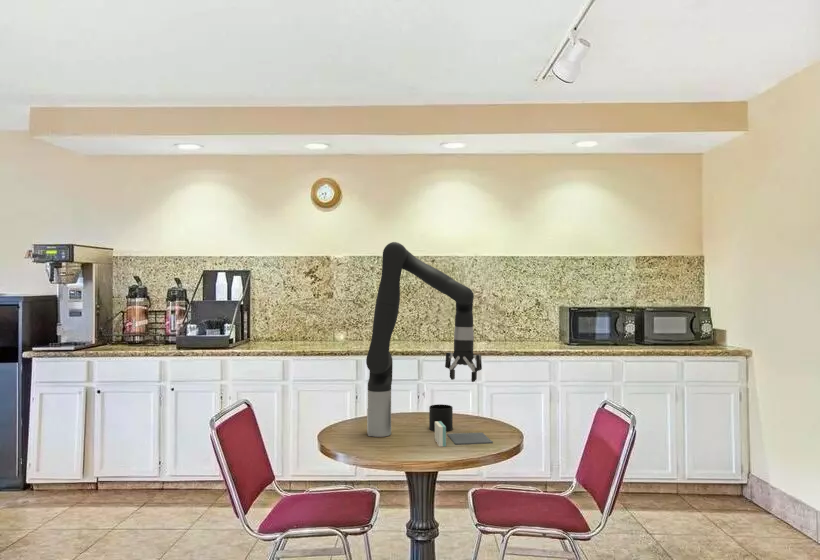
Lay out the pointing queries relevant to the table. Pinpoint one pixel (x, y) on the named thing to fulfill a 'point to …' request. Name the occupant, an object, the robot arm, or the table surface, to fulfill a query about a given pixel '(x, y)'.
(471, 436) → the mat
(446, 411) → the mug
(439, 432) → the block
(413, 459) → the table surface
